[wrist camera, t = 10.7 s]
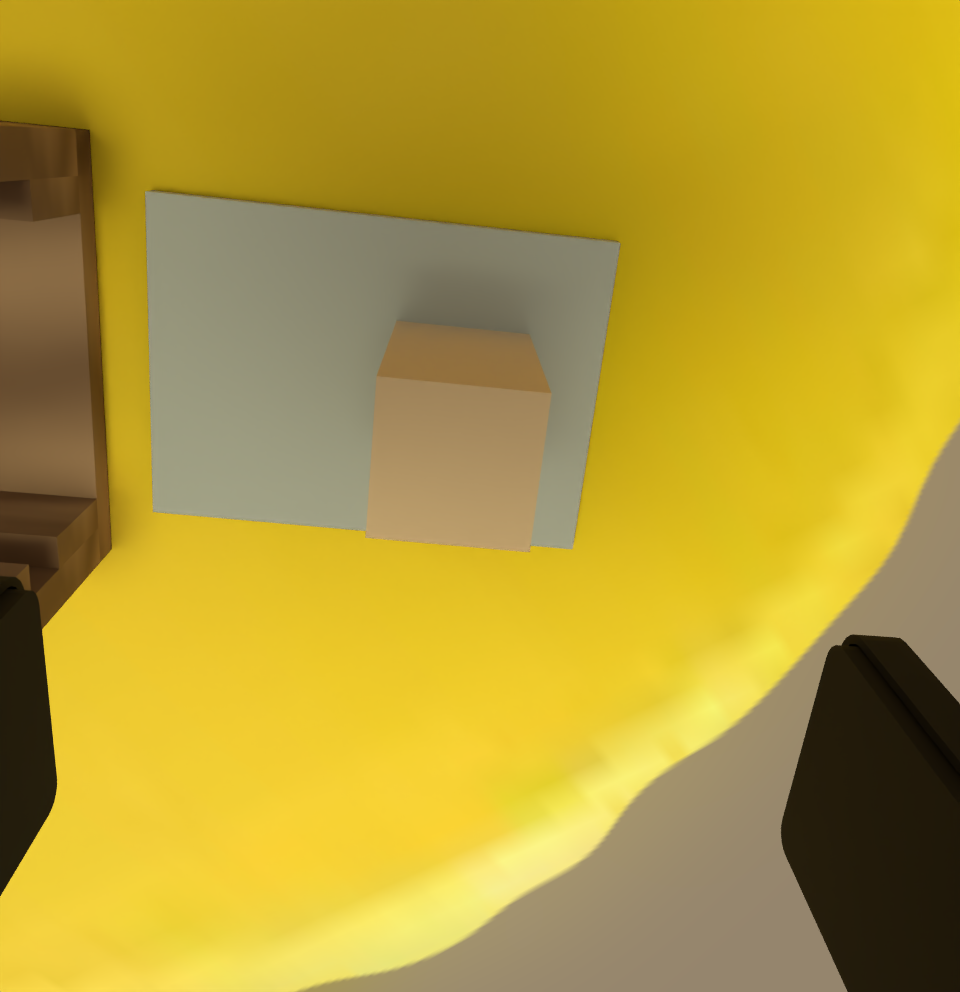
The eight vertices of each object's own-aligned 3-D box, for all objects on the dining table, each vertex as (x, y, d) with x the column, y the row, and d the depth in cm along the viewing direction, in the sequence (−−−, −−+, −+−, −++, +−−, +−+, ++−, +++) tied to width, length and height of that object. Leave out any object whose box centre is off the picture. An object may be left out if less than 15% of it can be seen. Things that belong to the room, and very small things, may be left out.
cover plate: (156, 189, 26) (37, 207, 19) (614, 239, 27) (673, 275, 20) (162, 500, 30) (64, 617, 22) (568, 536, 31) (604, 662, 23)
